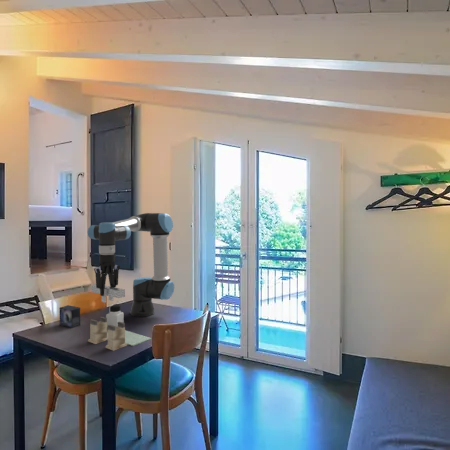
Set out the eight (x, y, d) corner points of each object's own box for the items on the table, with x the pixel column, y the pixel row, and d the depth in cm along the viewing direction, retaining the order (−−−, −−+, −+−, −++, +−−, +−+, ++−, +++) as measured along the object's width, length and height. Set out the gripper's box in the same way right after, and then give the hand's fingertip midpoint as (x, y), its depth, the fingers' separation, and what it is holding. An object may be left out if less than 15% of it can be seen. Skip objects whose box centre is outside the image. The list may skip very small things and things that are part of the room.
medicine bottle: (123, 324, 204) (123, 303, 204) (116, 328, 197) (116, 306, 197) (113, 323, 206) (113, 302, 206) (105, 326, 199) (105, 305, 199)
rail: (90, 291, 178) (90, 285, 178) (96, 290, 181) (96, 283, 181) (118, 298, 166) (118, 290, 165) (124, 296, 168) (124, 289, 168)
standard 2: (119, 342, 175) (119, 321, 175) (127, 345, 172) (127, 323, 171) (105, 347, 168) (105, 325, 168) (113, 350, 165) (113, 327, 165)
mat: (118, 329, 195) (118, 328, 195) (151, 339, 180) (151, 338, 180) (99, 335, 186) (99, 334, 185) (132, 346, 171) (132, 345, 171)
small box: (58, 325, 201) (58, 307, 201) (68, 322, 207) (68, 304, 207) (71, 328, 196) (71, 309, 196) (80, 325, 202) (80, 307, 202)
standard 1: (101, 337, 183) (101, 316, 183) (109, 339, 180) (109, 318, 179) (88, 341, 176) (88, 319, 176) (95, 344, 173) (95, 322, 173)
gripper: (97, 256, 164) (97, 306, 164) (125, 252, 177) (126, 298, 178) (87, 254, 168) (87, 303, 169) (116, 251, 181) (116, 296, 182)
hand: (107, 301), depth 173 cm, fingers closed on rail, 3 cm apart
